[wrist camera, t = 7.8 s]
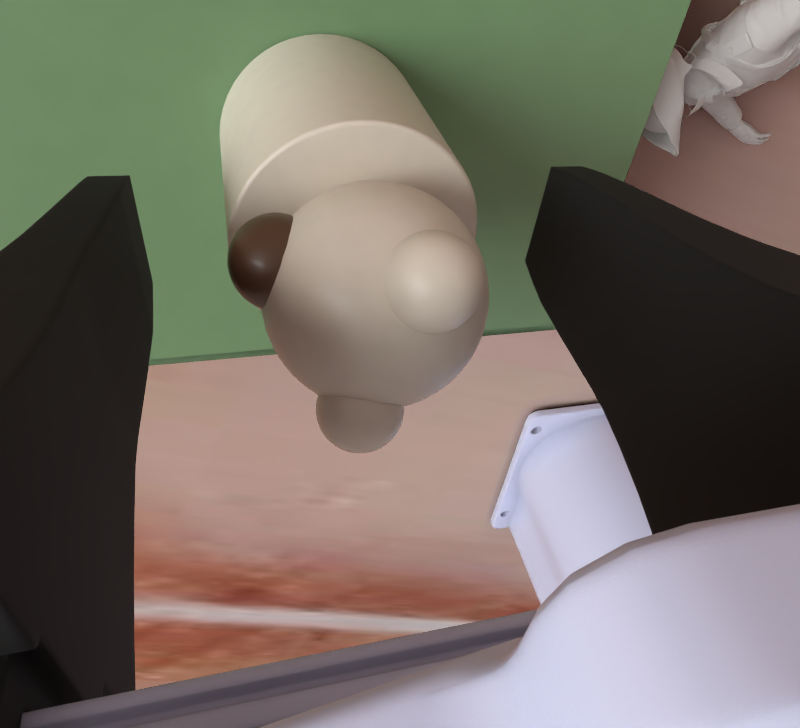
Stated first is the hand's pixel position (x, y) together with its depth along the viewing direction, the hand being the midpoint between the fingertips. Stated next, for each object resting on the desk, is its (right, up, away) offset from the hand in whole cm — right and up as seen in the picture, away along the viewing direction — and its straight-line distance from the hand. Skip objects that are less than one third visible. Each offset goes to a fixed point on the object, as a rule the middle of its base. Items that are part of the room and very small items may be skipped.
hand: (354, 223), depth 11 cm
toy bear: (-1, +2, +2) cm, 3 cm away
